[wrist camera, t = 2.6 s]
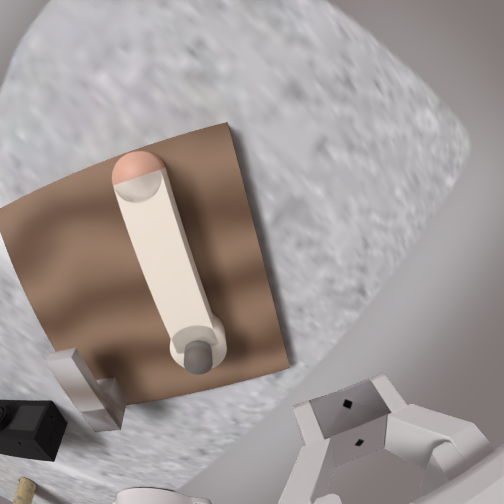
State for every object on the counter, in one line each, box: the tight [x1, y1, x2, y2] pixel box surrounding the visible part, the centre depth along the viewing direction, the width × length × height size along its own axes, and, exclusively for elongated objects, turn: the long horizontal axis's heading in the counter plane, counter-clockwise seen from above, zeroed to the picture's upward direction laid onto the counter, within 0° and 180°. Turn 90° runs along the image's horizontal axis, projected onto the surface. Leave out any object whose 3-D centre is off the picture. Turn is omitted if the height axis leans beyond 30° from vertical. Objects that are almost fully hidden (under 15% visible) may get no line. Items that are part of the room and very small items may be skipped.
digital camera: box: [0, 400, 67, 462], centre depth 27 cm, size 10×5×7 cm, turn 100°
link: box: [112, 151, 227, 369], centre depth 24 cm, size 18×5×2 cm, turn 14°
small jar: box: [13, 477, 37, 504], centre depth 31 cm, size 7×4×10 cm, turn 143°
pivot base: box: [0, 122, 290, 432], centre depth 24 cm, size 23×22×6 cm
